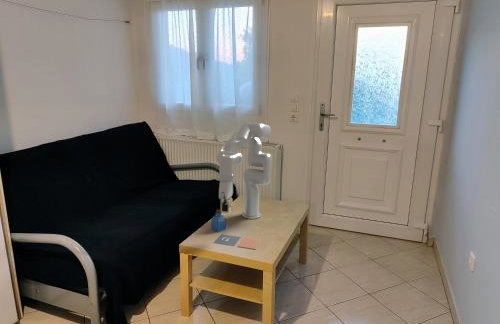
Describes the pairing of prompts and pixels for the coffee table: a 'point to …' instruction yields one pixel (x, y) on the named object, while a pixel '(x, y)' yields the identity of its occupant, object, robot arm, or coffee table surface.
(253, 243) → the pad
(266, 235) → the coffee table surface
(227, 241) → the gray tile
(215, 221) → the perfume bottle
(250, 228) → the coffee table surface
